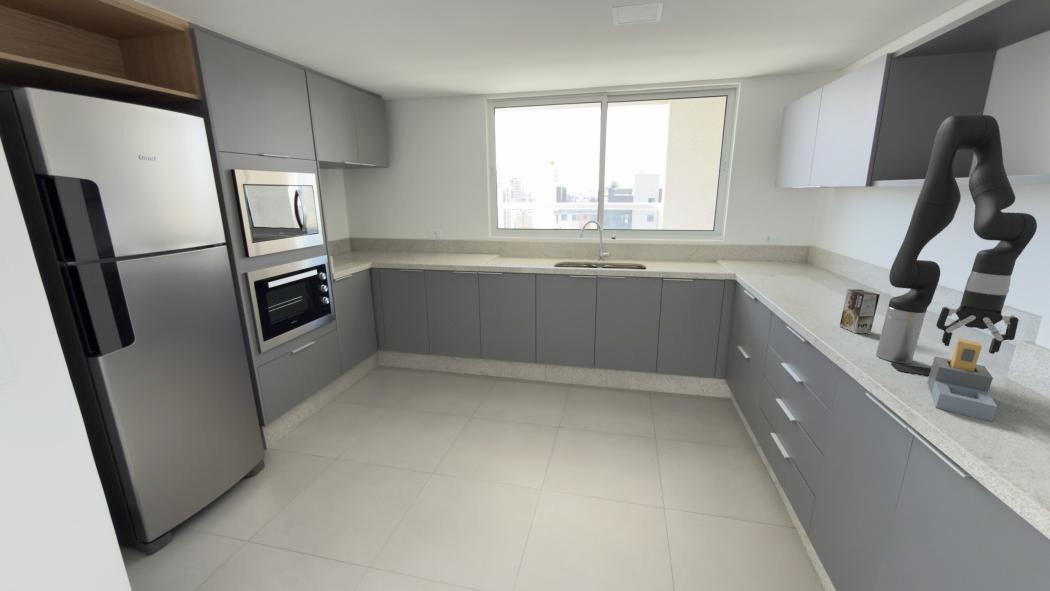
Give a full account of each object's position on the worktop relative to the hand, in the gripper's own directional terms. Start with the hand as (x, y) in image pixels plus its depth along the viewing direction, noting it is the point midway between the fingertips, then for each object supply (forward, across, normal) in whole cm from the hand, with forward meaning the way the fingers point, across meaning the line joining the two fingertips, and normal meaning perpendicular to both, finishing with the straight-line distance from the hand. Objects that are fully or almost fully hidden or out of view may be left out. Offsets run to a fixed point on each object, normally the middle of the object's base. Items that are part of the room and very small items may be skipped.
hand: (968, 349), depth 112 cm
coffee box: (+12, +23, -51) cm, 58 cm away
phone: (+14, +5, -14) cm, 20 cm away
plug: (+8, 0, 0) cm, 8 cm away
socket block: (+13, 0, +5) cm, 14 cm away
